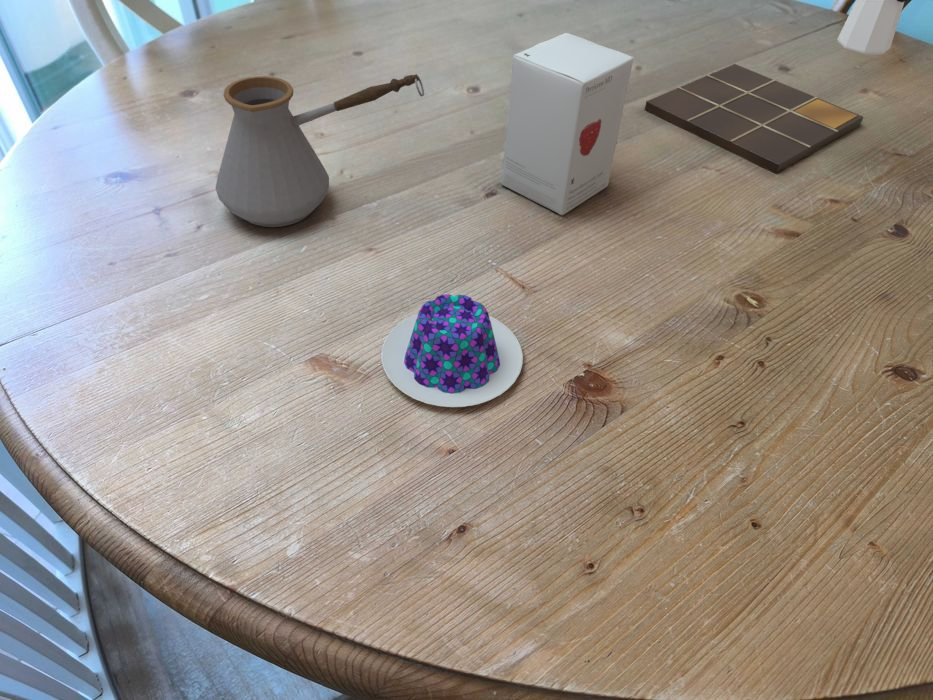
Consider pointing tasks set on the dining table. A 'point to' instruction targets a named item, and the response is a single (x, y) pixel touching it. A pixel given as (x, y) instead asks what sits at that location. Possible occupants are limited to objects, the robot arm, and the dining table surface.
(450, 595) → the dining table surface
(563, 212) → the rectangular carton
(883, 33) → the pepper shaker
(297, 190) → the coffee pot
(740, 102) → the board
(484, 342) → the pudding
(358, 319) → the dining table surface
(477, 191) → the dining table surface
